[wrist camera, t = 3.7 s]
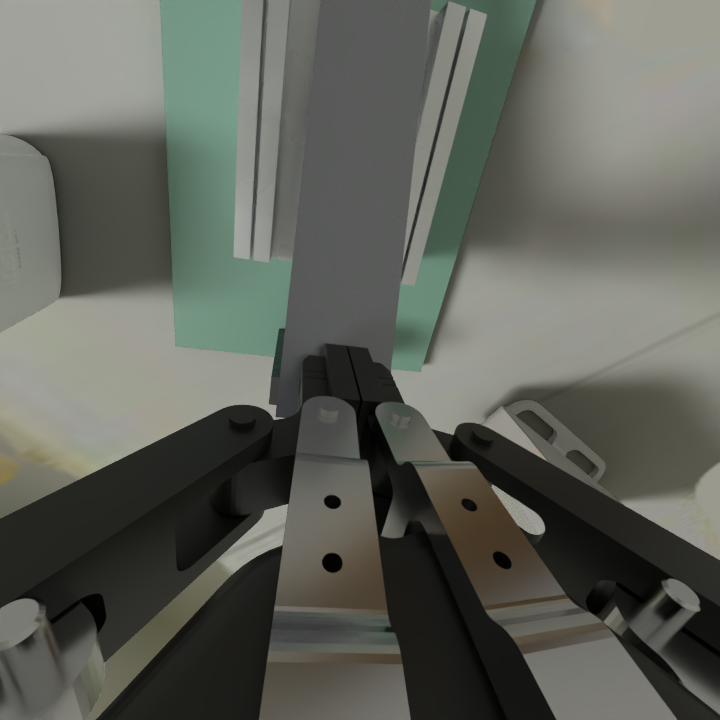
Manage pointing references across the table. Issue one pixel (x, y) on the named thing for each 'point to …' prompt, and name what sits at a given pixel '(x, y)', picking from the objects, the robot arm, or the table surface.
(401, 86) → the grey flat bar
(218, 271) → the mainboard
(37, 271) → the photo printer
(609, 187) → the table surface
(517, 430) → the network device
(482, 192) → the table surface
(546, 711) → the robot arm
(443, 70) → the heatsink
